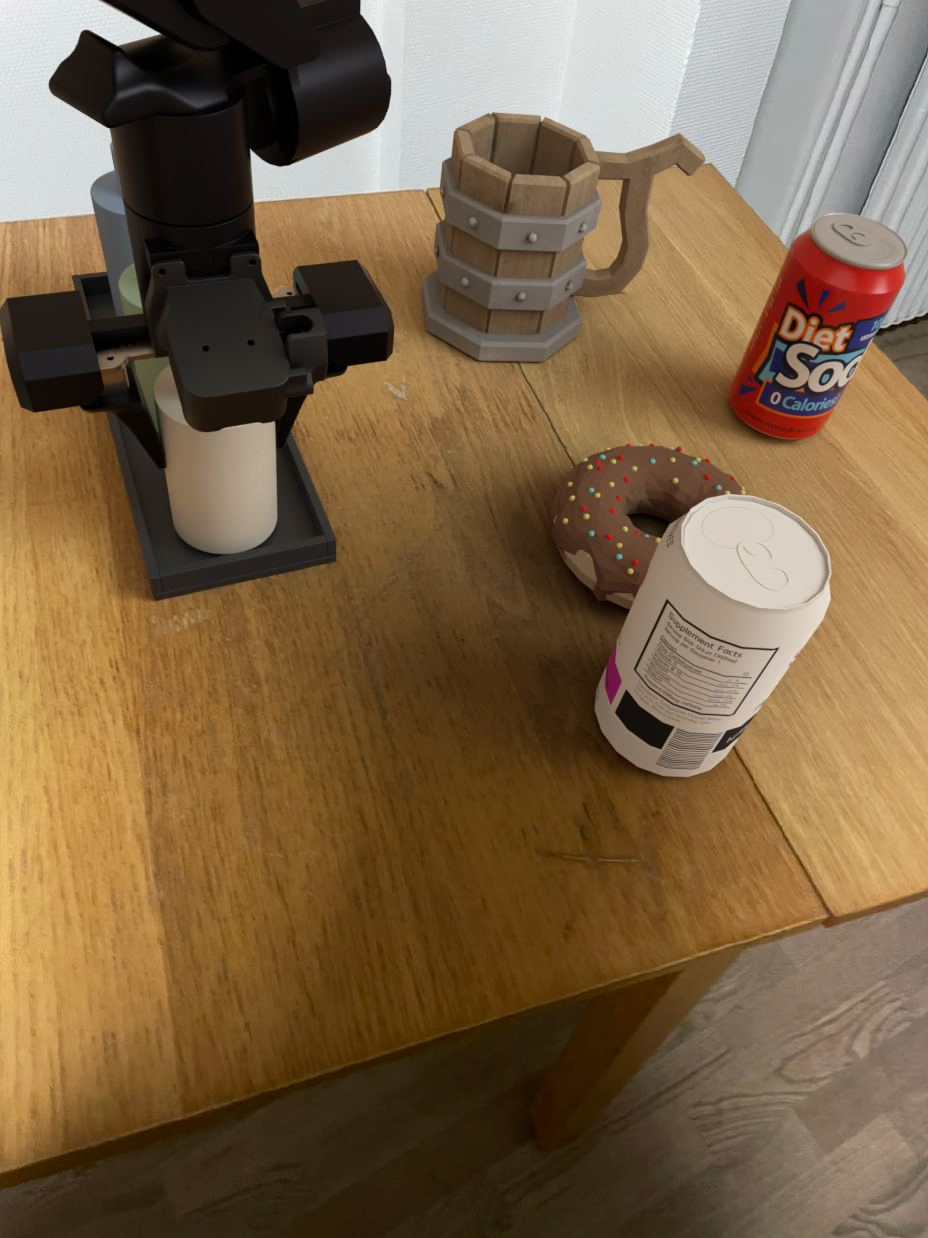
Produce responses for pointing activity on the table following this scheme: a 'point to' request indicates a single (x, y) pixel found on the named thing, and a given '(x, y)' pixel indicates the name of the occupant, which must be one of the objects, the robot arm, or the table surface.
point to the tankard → (532, 232)
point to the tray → (165, 553)
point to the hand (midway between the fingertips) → (220, 454)
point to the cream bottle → (217, 477)
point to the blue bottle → (112, 229)
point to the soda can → (817, 324)
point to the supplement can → (711, 632)
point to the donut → (626, 512)
